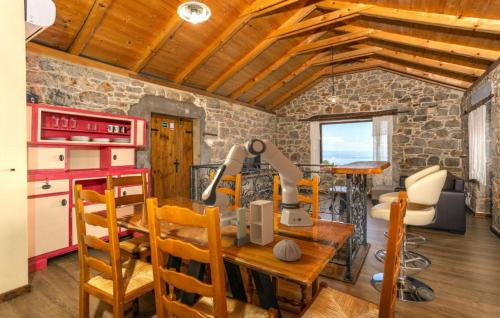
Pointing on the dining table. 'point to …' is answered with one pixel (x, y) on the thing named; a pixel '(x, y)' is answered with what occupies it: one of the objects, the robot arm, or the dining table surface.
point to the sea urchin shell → (287, 250)
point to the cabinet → (259, 224)
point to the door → (241, 222)
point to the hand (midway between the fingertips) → (242, 221)
